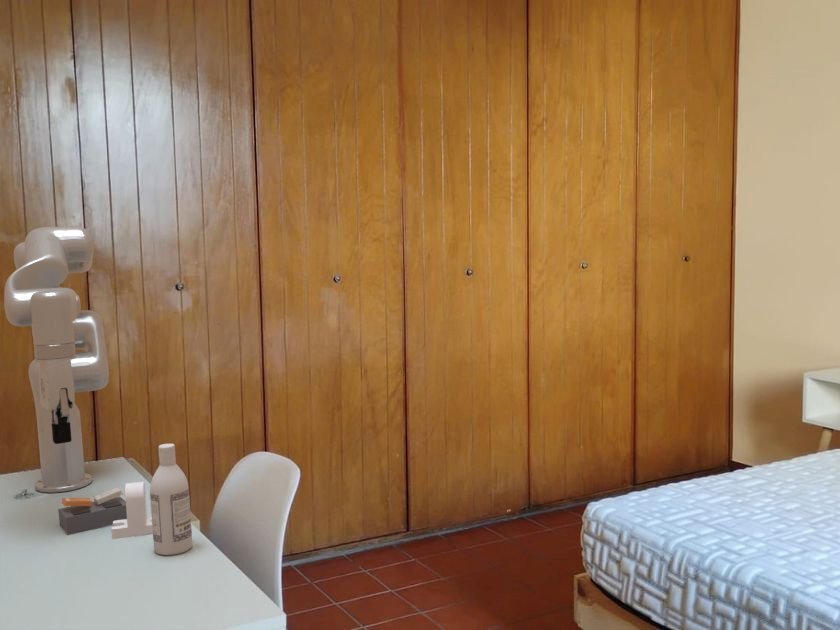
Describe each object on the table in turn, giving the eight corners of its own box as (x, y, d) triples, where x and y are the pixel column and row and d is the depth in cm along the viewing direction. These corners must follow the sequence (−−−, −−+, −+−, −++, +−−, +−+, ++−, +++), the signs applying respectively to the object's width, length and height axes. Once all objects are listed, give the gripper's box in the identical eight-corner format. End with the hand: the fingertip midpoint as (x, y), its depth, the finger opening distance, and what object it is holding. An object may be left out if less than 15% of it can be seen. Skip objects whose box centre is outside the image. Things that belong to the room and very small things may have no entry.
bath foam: (196, 541, 161) (190, 439, 159) (186, 555, 155) (179, 449, 152) (161, 542, 162) (154, 441, 159) (149, 556, 155) (141, 450, 153)
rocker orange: (61, 502, 172) (62, 497, 172) (88, 502, 175) (88, 497, 175) (64, 506, 170) (65, 501, 170) (91, 506, 173) (92, 500, 173)
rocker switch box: (57, 522, 175) (55, 504, 175) (117, 509, 182) (116, 492, 182) (67, 534, 168) (65, 516, 167) (130, 520, 175) (129, 503, 174)
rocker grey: (94, 501, 176) (93, 496, 176) (119, 491, 179) (117, 486, 178) (98, 504, 174) (96, 499, 173) (122, 494, 176) (121, 489, 176)
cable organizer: (114, 530, 170) (110, 482, 169) (165, 523, 172) (161, 476, 171) (111, 539, 165) (108, 489, 163) (164, 532, 167) (161, 483, 166)
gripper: (27, 351, 172) (35, 439, 174) (42, 358, 160) (50, 452, 162) (66, 347, 176) (73, 433, 178) (83, 353, 164) (91, 445, 166)
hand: (62, 442), depth 170 cm, fingers closed
